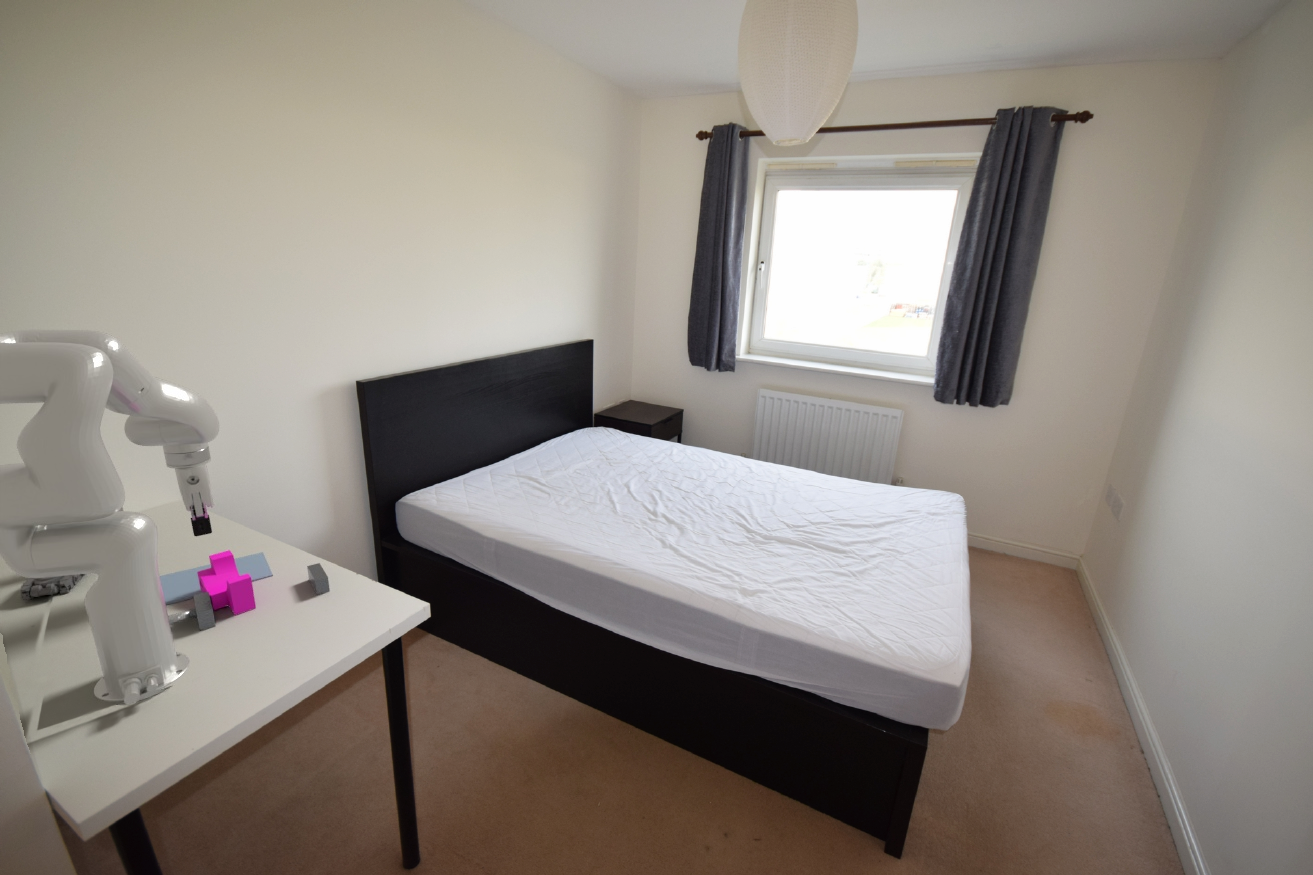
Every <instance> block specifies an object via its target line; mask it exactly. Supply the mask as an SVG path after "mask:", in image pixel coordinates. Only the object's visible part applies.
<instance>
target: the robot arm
mask: <svg viewBox="0 0 1313 875" xmlns="http://www.w3.org/2000/svg"><path fill="white" fill-rule="evenodd" d="M37 403H38V404H39V403H40V404H41V403H43V404H42V406H41V407H40V409H39V410H38V411H37V413H36V414H34V416H33V417H32V418H31V419H30V420H28V422H27V423H26V424H25V426H24V427H23V428H22V430H21V432H20V433H19V434H18V438H17V440H16V449H17V451H18V453H19V455H20V458H21V459H22V462H17V463H16V462H15V463H7V464H2V465H0V557H1V559H2V560H3V561H4V563H5V564H6V565H7V566H8V568H10V570H11V571H13V573H15V574H16V575H18V576H20V577H23V578H27V579H29V578H47V577H57V576H66V575H76V574H86V575H87V574H95V575H98V578H97V580H96V581H95V582H94V583H93V584H92V585H91V586H90V588H89V589H88V590H87V592H86V594H85V597H84V608H85V612H86V614H87V618H88V622H89V625H90V628H91V633H92V638H93V640H94V644H95V649H96V652H97V655H98V659H99V664H100V668H101V671H102V674H103V676H102V677H100V679H99V680H98V681H97V682H96V684H95V685H94V688H93V694H94V696H95V698H97V699H98V700H100V701H104V702H110V703H112V702H113V703H114V702H115V703H116V702H119V703H117V705H124V704H126V705H132V704H135V703H137V702H139V701H143V700H145V699H148V698H151V697H153V696H156V695H158V694H160V693H162V692H165V691H166V690H168V689H170V688H172V687H173V685H171V684H173V683H174V682H175V681H177V680H178V679H179V678H181V677H182V676H183V675H184V674H185V672H186V671H187V670H188V668H189V667H190V659H189V657H188V656H187V655H186V654H184V653H182V652H178V651H176V646H175V642H174V637H173V632H172V628H171V624H170V623H169V618H168V616H169V615H168V609H167V605H166V604H165V599H164V595H163V591H162V586H161V581H160V576H161V575H160V570H159V556H158V552H159V551H158V550H159V548H158V546H159V530H158V526H157V524H156V521H154V519H153V518H152V517H150V515H147V514H145V513H141V512H137V511H129V510H128V511H126V510H124V511H119V510H120V509H121V508H122V506H124V504H125V501H126V492H125V488H124V485H123V482H122V480H121V477H120V475H119V473H118V471H117V468H116V467H115V465H114V462H113V460H112V459H111V456H110V454H109V451H108V450H107V448H106V445H105V443H104V440H103V438H102V435H101V424H102V420H103V417H104V416H103V415H104V413H105V410H106V409H107V410H109V411H112V412H114V413H118V414H122V415H126V416H128V417H127V419H125V423H124V427H123V428H124V430H123V431H124V434H125V436H126V438H127V439H128V440H129V441H130V442H131V443H133V444H134V445H137V446H142V447H162V451H163V455H164V460H165V466H166V467H167V468H169V469H174V472H175V476H176V480H177V481H176V482H177V484H178V489H179V492H180V496H181V498H182V501H183V504H184V508H185V509H186V511H187V512H190V515H191V517H190V523H191V528H192V531H193V532H192V534H193V536H194V537H200V536H205V535H210V534H212V533H213V529H212V524H211V520H210V515H209V514H208V510H207V508H214V507H215V501H214V497H213V496H214V495H213V491H212V486H211V485H212V484H211V480H210V475H209V471H208V468H207V464H208V463H210V462H211V461H212V457H211V451H210V448H209V443H211V442H212V441H213V440H214V439H216V438H217V436H218V435H219V431H220V421H219V418H218V416H217V413H216V412H215V410H214V409H213V407H212V406H211V405H210V404H209V402H208V401H207V400H206V399H205V397H204V396H203V395H201V394H199V393H198V392H196V391H194V390H192V389H190V388H187V387H185V386H183V385H180V384H177V383H174V382H171V381H168V380H165V379H163V378H159V377H156V376H153V375H152V374H151V373H150V372H149V370H147V369H146V367H145V366H143V364H141V362H140V361H139V360H138V359H137V357H136V356H135V355H134V354H132V352H131V351H130V350H129V349H128V348H127V347H126V346H125V345H124V344H123V342H122V341H120V340H119V339H118V338H117V337H115V336H113V335H111V334H108V333H106V332H103V331H99V330H98V331H97V330H92V329H91V330H90V329H89V330H88V329H87V330H86V329H23V330H21V329H20V330H14V331H8V332H4V333H0V405H1V404H4V405H5V404H7V405H10V404H37ZM169 685H170V686H169Z"/></svg>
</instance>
